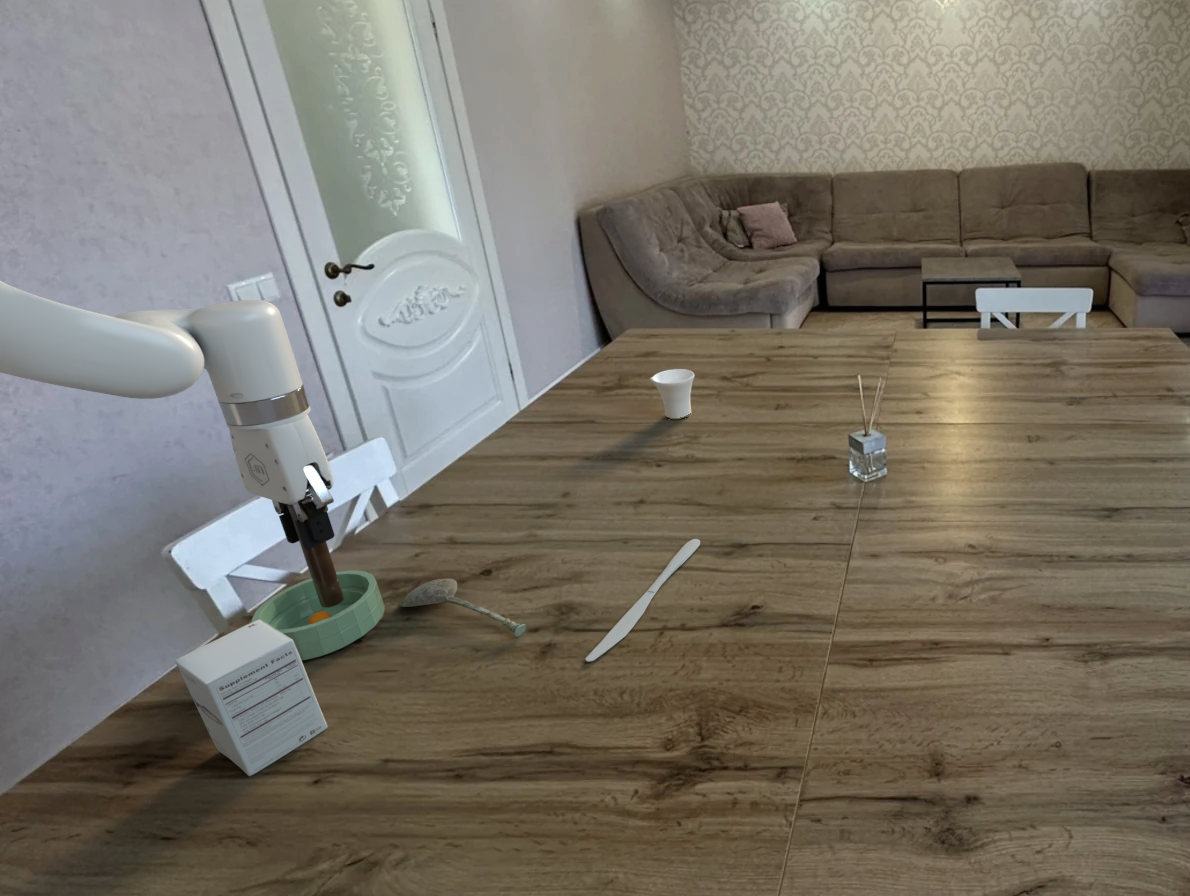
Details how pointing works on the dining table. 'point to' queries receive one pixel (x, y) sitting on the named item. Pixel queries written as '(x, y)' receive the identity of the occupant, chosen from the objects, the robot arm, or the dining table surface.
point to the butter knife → (642, 603)
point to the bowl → (347, 617)
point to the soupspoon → (452, 601)
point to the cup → (675, 391)
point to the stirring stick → (320, 568)
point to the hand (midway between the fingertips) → (311, 539)
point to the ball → (318, 617)
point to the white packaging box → (253, 695)
